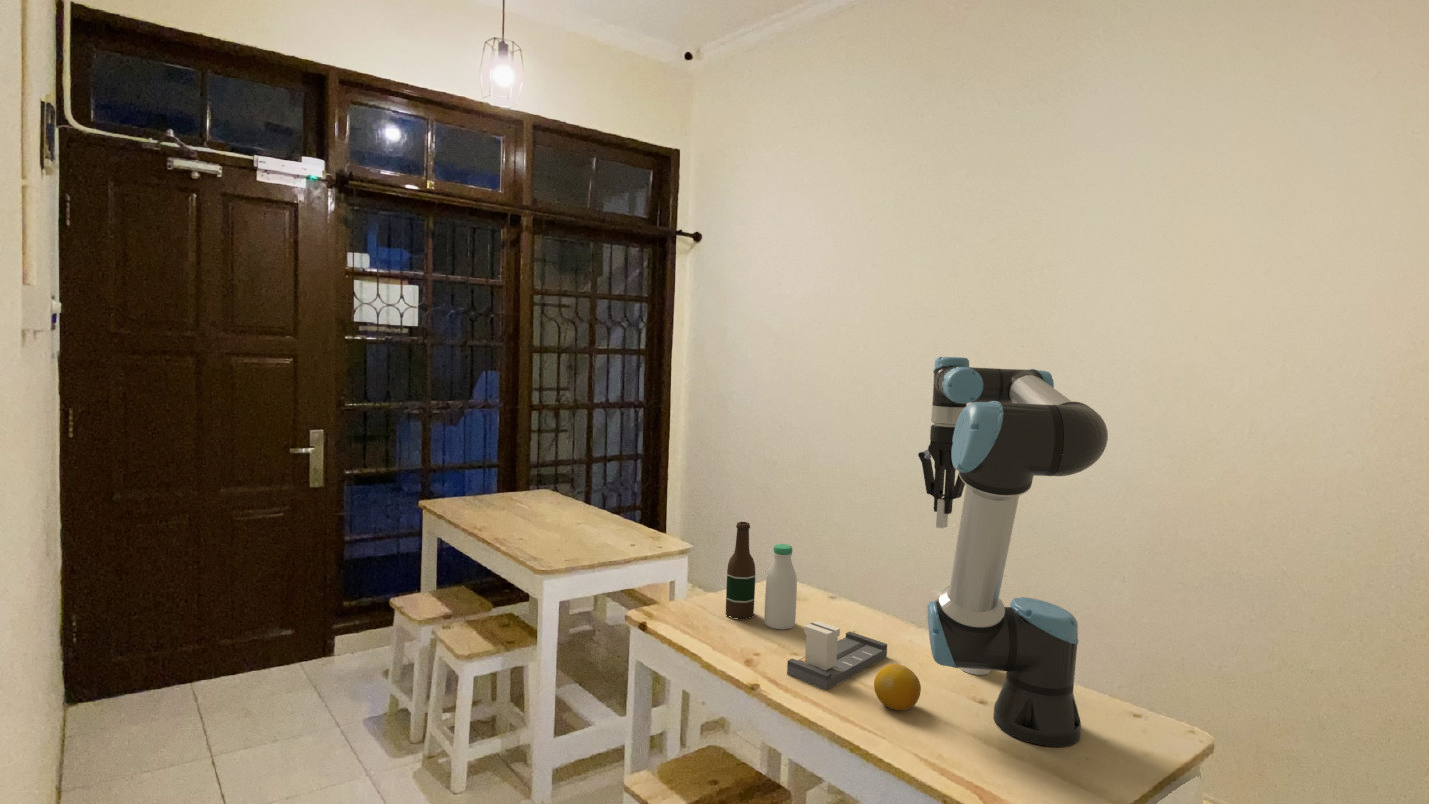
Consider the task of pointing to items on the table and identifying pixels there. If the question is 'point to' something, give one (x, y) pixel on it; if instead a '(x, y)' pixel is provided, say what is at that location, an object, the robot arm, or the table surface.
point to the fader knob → (821, 645)
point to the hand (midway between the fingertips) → (941, 526)
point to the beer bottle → (741, 577)
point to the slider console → (841, 661)
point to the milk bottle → (781, 590)
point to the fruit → (897, 687)
